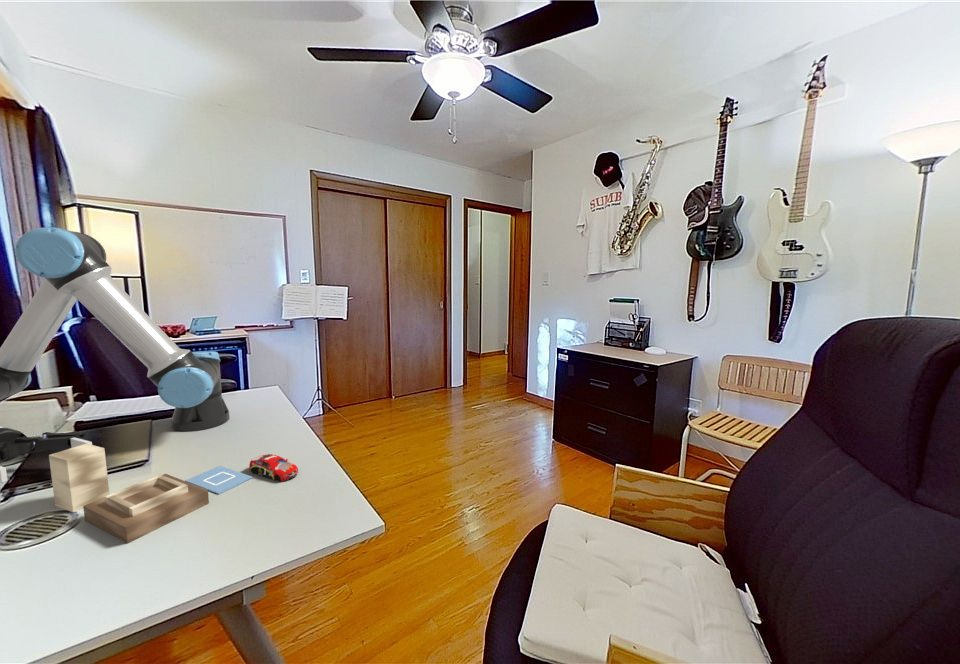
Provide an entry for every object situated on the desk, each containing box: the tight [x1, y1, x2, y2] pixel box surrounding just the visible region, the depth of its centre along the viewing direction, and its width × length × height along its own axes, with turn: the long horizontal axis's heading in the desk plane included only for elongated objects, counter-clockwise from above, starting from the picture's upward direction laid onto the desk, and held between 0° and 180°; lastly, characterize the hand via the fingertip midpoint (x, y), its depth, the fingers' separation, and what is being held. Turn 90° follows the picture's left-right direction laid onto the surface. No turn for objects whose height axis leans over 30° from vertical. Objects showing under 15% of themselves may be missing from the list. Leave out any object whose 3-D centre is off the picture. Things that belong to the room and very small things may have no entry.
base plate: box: [83, 473, 210, 544], centre depth 79 cm, size 14×15×4 cm
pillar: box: [48, 444, 110, 513], centre depth 81 cm, size 6×6×11 cm
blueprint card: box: [184, 465, 254, 495], centre depth 92 cm, size 8×12×1 cm, turn 66°
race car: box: [249, 453, 299, 482], centre depth 96 cm, size 13×5×4 cm, turn 65°
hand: (50, 460), depth 84 cm, fingers open, 13 cm apart
